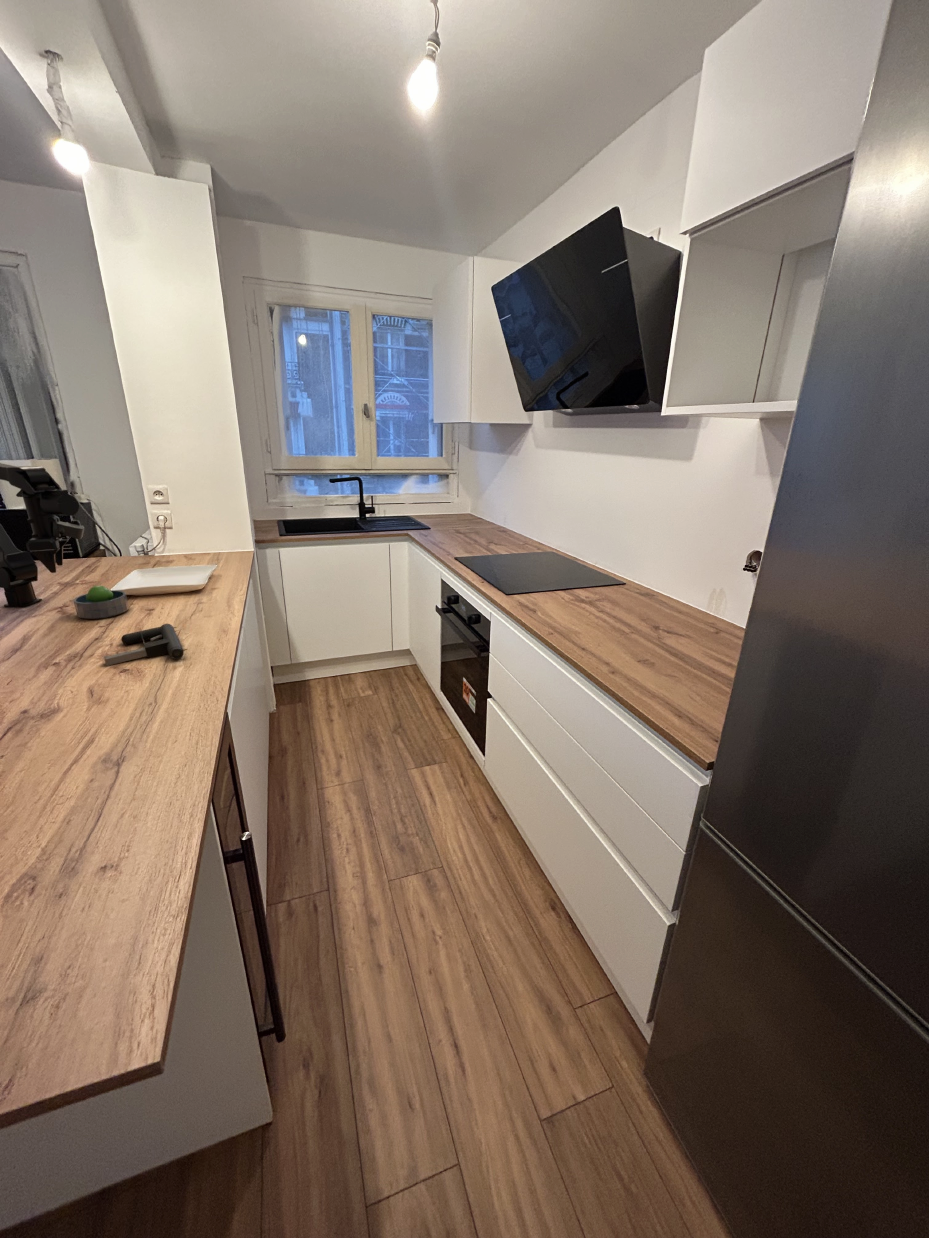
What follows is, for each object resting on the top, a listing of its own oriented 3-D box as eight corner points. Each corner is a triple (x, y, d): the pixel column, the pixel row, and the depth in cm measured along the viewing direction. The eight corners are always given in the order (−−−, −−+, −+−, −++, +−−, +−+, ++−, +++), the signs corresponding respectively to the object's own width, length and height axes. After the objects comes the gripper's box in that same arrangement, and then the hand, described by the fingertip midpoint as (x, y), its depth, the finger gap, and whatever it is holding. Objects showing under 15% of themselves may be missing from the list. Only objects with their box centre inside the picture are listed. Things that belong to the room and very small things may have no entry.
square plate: (219, 573, 183) (217, 563, 181) (207, 594, 158) (205, 582, 157) (136, 577, 175) (134, 567, 173) (110, 600, 150) (107, 588, 149)
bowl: (96, 606, 146) (92, 590, 144) (138, 606, 146) (134, 590, 144) (67, 620, 134) (62, 603, 132) (112, 620, 135) (107, 603, 133)
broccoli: (88, 615, 136) (81, 589, 134) (91, 610, 141) (84, 584, 138) (116, 612, 139) (109, 586, 137) (117, 606, 143) (111, 582, 141)
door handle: (103, 665, 103) (188, 645, 112) (101, 636, 118) (175, 619, 127) (108, 679, 104) (191, 657, 113) (105, 648, 119) (179, 631, 128)
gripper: (71, 517, 130) (86, 573, 135) (83, 508, 145) (96, 559, 150) (17, 519, 125) (35, 578, 130) (35, 510, 140) (50, 563, 145)
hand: (57, 568), depth 139 cm, fingers open, 9 cm apart
